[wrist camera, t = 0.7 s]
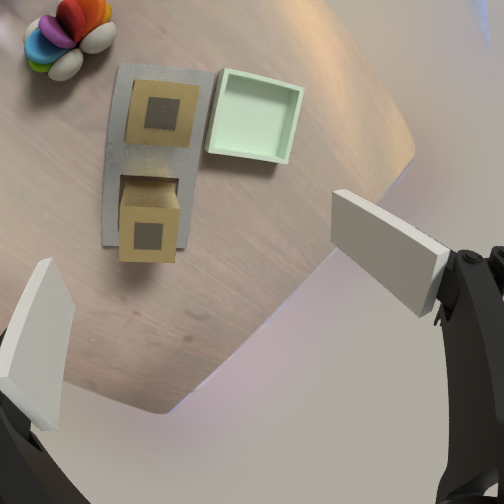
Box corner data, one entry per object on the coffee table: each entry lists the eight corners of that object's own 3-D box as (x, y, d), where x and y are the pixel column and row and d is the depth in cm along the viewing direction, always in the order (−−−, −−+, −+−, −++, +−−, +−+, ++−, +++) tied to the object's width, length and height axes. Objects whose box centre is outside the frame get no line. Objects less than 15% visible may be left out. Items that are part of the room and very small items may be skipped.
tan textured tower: (131, 133, 27) (124, 143, 19) (139, 87, 25) (135, 78, 17) (177, 137, 29) (189, 148, 21) (186, 92, 27) (200, 85, 19)
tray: (203, 149, 30) (208, 152, 28) (219, 70, 27) (224, 67, 25) (278, 160, 34) (287, 164, 32) (294, 88, 30) (304, 88, 28)
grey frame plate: (103, 242, 31) (102, 245, 31) (120, 63, 23) (119, 62, 22) (185, 245, 35) (186, 248, 34) (213, 74, 27) (215, 73, 26)
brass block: (124, 222, 31) (118, 262, 24) (126, 179, 29) (119, 206, 22) (166, 224, 33) (174, 263, 26) (171, 182, 31) (180, 209, 23)
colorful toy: (130, 34, 22) (126, 14, 16) (57, 94, 22) (33, 91, 16) (92, -13, 17) (81, -39, 11) (21, 46, 17) (-7, 35, 11)
